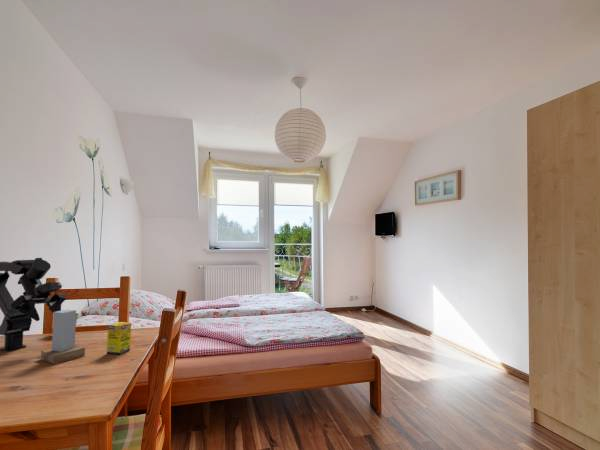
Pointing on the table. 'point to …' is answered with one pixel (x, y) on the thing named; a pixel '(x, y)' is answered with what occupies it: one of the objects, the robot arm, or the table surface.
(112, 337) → the supplement box
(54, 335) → the slate block
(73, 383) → the table surface
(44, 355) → the walnut block
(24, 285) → the robot arm
